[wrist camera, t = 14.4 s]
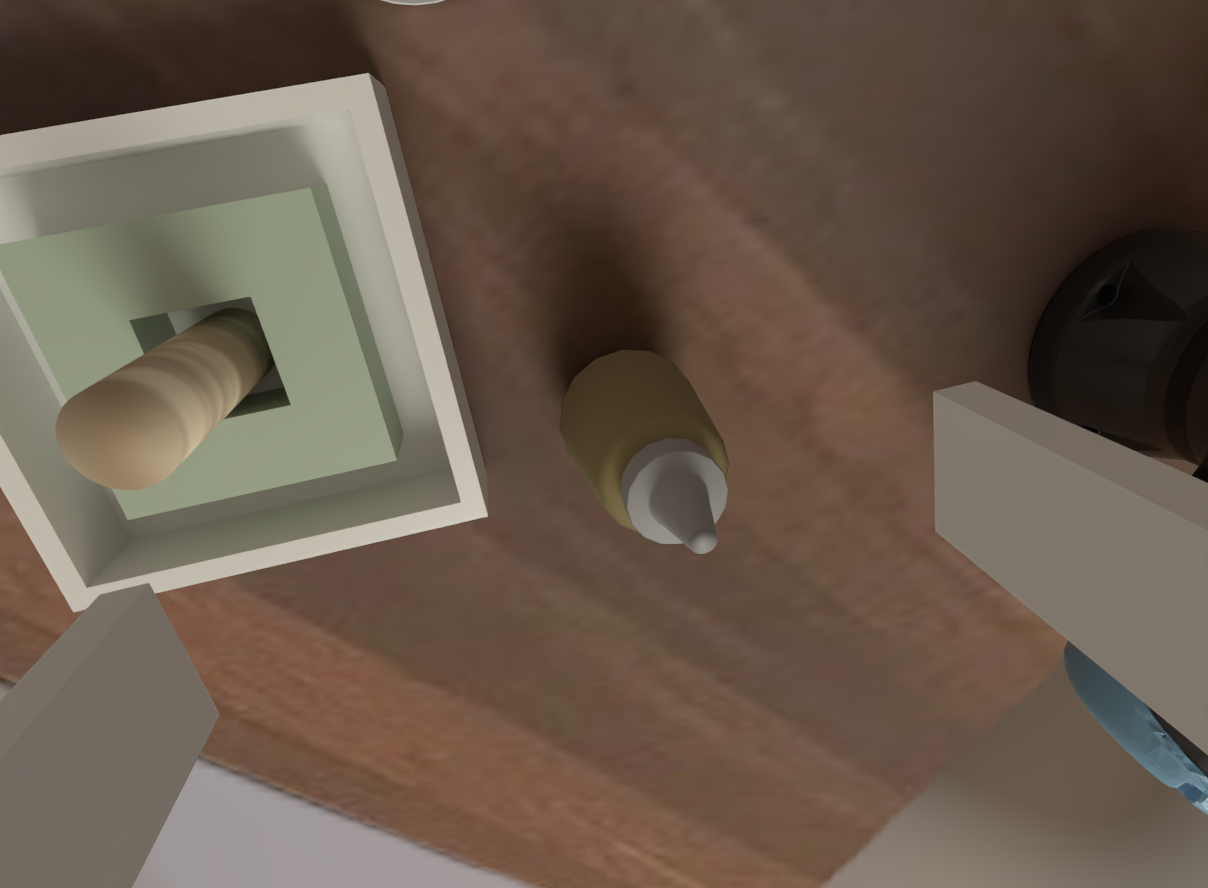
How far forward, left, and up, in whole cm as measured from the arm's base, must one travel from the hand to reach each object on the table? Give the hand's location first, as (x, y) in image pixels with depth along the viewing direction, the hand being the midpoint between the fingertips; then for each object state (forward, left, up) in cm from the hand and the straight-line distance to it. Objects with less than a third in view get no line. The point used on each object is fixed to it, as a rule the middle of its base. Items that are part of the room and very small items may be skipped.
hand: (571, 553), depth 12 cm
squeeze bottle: (-5, +9, -31) cm, 33 cm away
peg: (+15, +1, -30) cm, 33 cm away
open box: (+15, +1, -31) cm, 34 cm away
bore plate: (+15, +1, -31) cm, 34 cm away
